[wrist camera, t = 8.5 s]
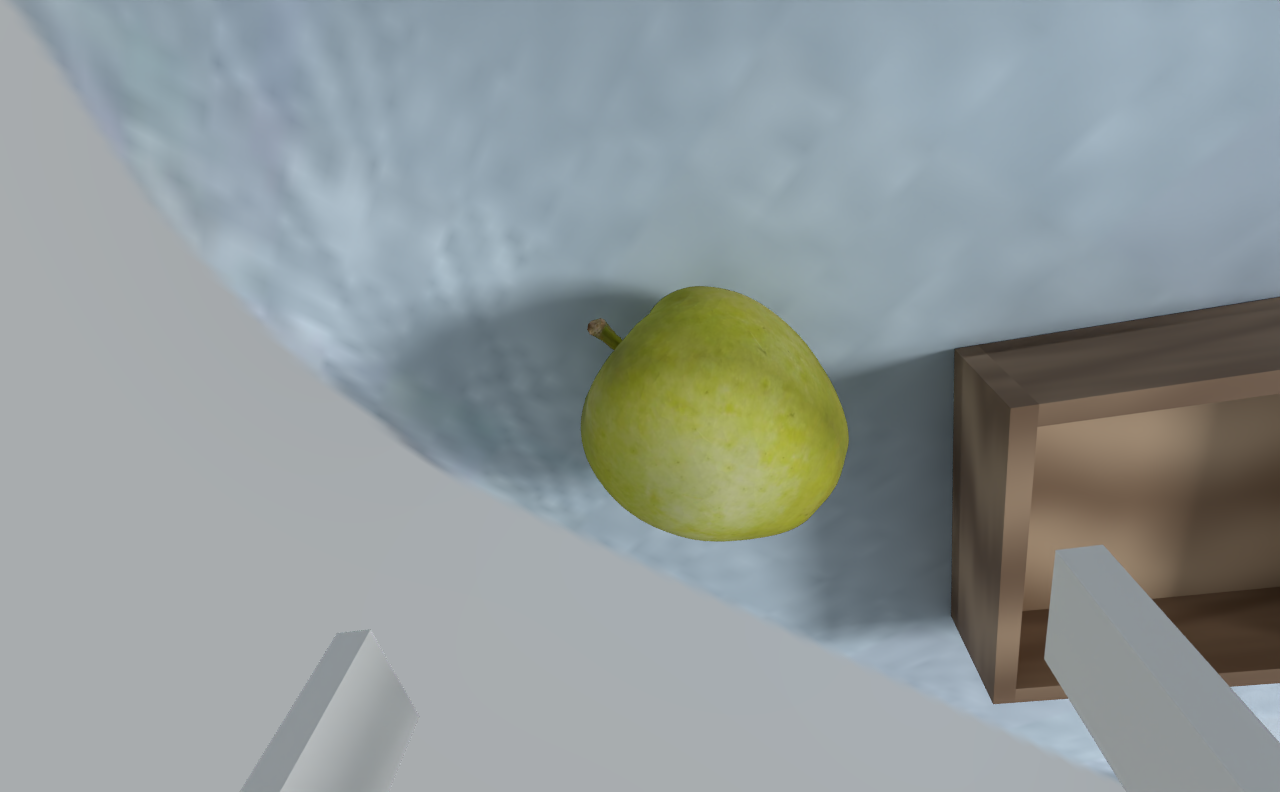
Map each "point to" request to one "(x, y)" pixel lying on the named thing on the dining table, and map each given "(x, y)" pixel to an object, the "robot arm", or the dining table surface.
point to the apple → (714, 419)
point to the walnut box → (1121, 485)
